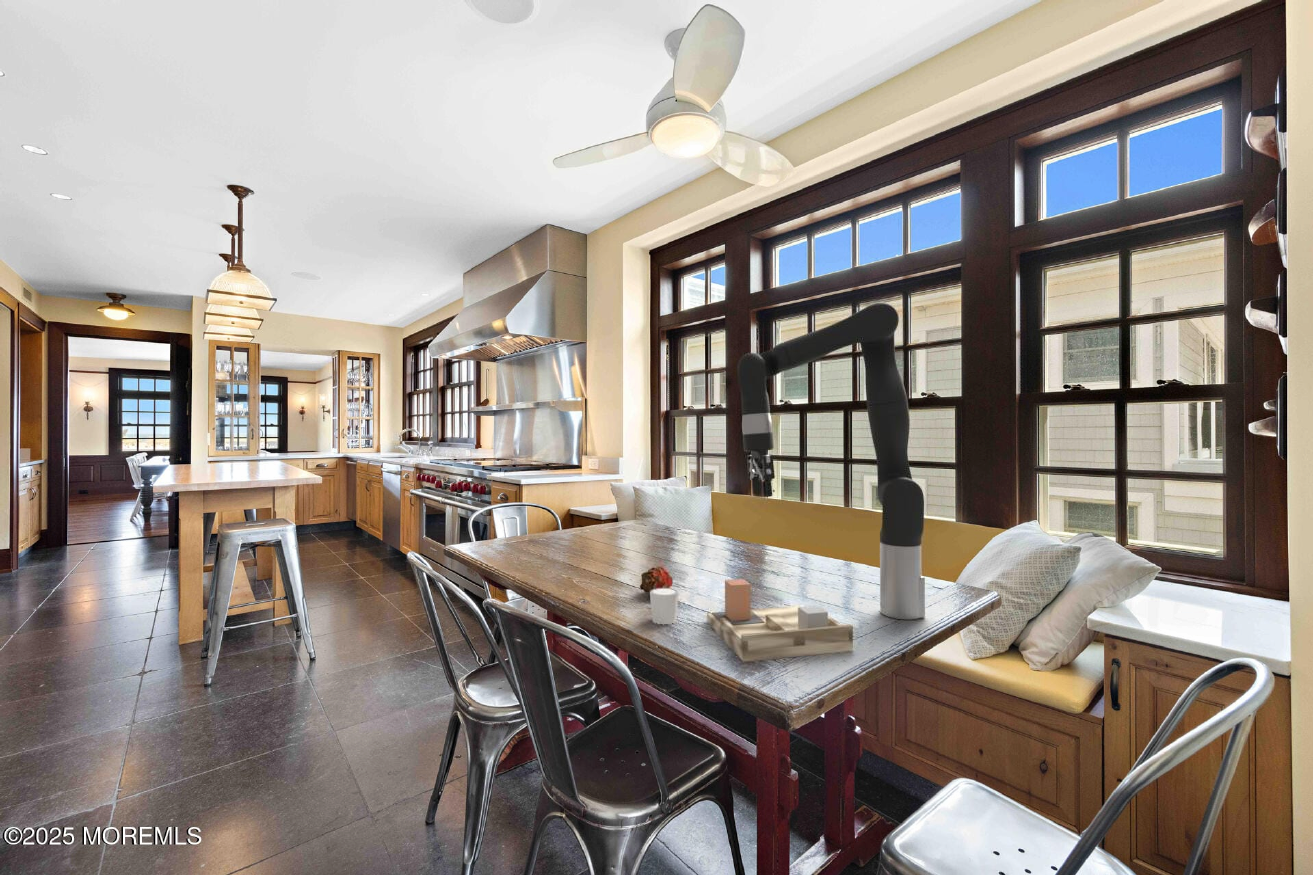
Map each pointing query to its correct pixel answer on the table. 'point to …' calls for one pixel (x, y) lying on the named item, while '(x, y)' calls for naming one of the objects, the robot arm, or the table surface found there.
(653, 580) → the dragon fruit
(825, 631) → the wooden divided tray
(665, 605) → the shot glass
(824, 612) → the grey block
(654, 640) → the table surface
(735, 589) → the terracotta block
